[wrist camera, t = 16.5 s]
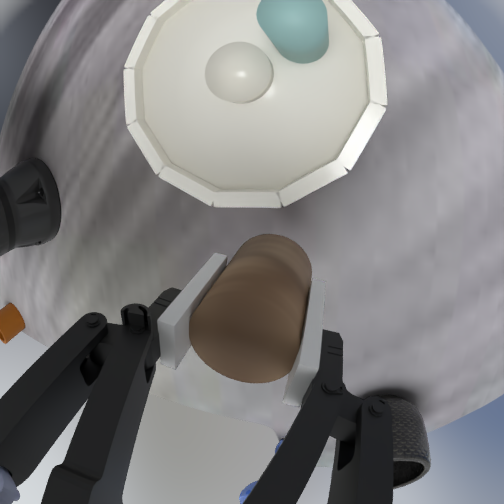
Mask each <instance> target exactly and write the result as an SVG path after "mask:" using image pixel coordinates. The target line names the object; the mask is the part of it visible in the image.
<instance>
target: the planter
mask: <svg viewBox="0 0 504 504" xmlns="http://www.w3.org/2000/svg"><path fill="white" fill-rule="evenodd" d="M377 397H380V398H382V399H384V400H385V401H387V403H388V404H389V405H390V408H391V413H392V430H393V489H396V488H399V487H403V486H406V485H408V484H411V483H413V482H415V481H417V480H418V479H420V478H422V477H423V476H424V475H425V474H426V473H427V472H428V471H429V469H430V466H431V459H430V452H429V444H428V438H427V433H426V429H425V424H424V421H423V418H422V416H421V414H420V412H419V410H418V409H417V408H416V407H415V406H414V405H413V404H412V403H410V402H409V401H406V400H404V399H402V398H400V397H397V396H394V395H382V396H377ZM332 472H333V470H332ZM331 478H332V477H331Z"/></svg>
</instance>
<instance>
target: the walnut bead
mask: <svg viewBox="0 0 504 504" xmlns="http://www.w3.org/2000/svg"><path fill="white" fill-rule="evenodd" d="M311 277H312V268H311V263H310V261H309V258H308V256H307V254H306V253H305V251H304V250H303V249H302V248H301V247H300V246H299V245H298V244H297V243H295V242H294V241H292V240H291V239H289V238H286V237H284V236H281V235H276V234H263V235H258V236H255V237H253V238H251V239H249V240H248V241H246V242H245V243H244V244H243V245H242V246H241V247H240V249H239V250H238V251H237V253H236V254H235V255H234V257H233V258H232V260H231V261H230V262H229V264H228V265H227V267H226V268H225V269H224V271H223V272H222V274H221V275H220V276H219V278H218V279H217V281H216V282H215V283H214V285H213V286H212V288H211V289H210V290H209V292H208V293H207V295H206V296H205V297H204V299H203V300H202V302H201V303H200V304H199V306H198V307H197V309H196V310H195V311H194V313H193V314H192V316H191V318H190V321H189V339H190V342H191V344H192V346H193V348H194V350H195V352H196V353H197V355H198V356H199V357H200V358H201V359H202V360H203V361H204V362H205V363H206V364H207V365H208V366H209V367H211V368H212V369H213V370H215V371H216V372H218V373H220V374H222V375H224V376H226V377H228V378H231V379H234V380H237V381H241V382H247V383H266V382H271V381H275V380H278V379H280V378H282V377H284V376H285V375H287V374H288V373H289V372H290V371H291V370H292V367H293V365H294V362H295V360H296V357H297V354H298V352H299V349H300V343H301V338H302V332H303V326H304V320H305V314H306V308H307V301H308V294H309V288H310V284H311Z"/></svg>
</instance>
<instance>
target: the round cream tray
mask: <svg viewBox="0 0 504 504" xmlns="http://www.w3.org/2000/svg"><path fill="white" fill-rule="evenodd" d="M322 1H323V2H324V4H325V6H326V9H327V17H328V32H329V46H328V49H327V52H326V53H325V54H324V55H323V56H322V57H321V58H320V59H318V60H317V61H314V62H311V63H305V64H300V63H295V62H292V61H289V60H287V59H286V58H284V57H283V56H282V55H281V54H280V53H279V51H278V50H277V49H276V47H275V46H274V44H273V43H272V42H271V40H270V39H269V38H268V36H267V35H266V34H265V32H264V31H263V30H262V28H261V27H260V25H259V24H258V21H257V16H256V12H257V8H258V5H259V3H260V2H261V0H165V1H164V2H163V3H161V4H160V5H159V6H158V7H157V8H155V9H154V10H153V11H152V12H151V15H152V16H148V17H147V19H146V21H145V23H144V25H143V27H142V29H141V31H140V33H139V35H138V37H137V39H136V41H135V43H134V45H133V48H132V50H131V52H130V54H129V57H128V59H127V61H126V64H125V66H124V67H126V68H127V69H125V70H124V98H125V115H126V125H127V124H130V125H129V126H128V127H127V128H128V130H129V131H130V133H131V135H132V136H133V138H134V140H135V141H136V143H137V145H138V146H139V148H140V150H141V151H142V153H143V154H144V156H145V158H146V159H147V161H148V163H149V164H150V166H151V167H152V169H153V171H154V172H155V174H156V175H157V174H159V178H161V179H163V180H165V181H167V182H168V183H170V184H172V185H174V186H175V187H177V188H179V189H181V190H183V191H184V192H186V193H188V194H190V195H191V196H193V197H195V198H197V199H199V200H200V201H202V202H204V203H206V204H207V205H209V206H212V205H214V207H249V208H281V207H282V205H283V206H284V207H286V206H287V205H289V204H291V203H293V202H295V201H297V200H299V199H300V198H302V197H304V196H306V195H308V194H310V193H312V192H313V191H315V190H317V189H319V188H321V187H323V186H325V185H326V184H328V183H330V182H332V181H334V180H336V179H338V178H340V177H342V176H343V175H345V174H347V171H346V169H345V168H347V169H349V170H350V171H351V169H352V167H353V166H354V164H355V162H356V161H357V159H358V157H359V156H360V154H361V152H362V151H363V149H364V147H365V145H366V144H367V142H368V140H369V139H370V137H371V135H372V133H373V132H374V130H375V128H376V127H377V125H378V123H379V121H380V120H381V118H382V116H383V114H384V113H385V111H386V108H384V107H385V106H387V90H386V77H385V67H384V57H383V49H382V42H381V37H378V36H379V33H378V31H377V30H376V29H375V28H374V26H373V25H372V24H371V23H370V21H369V20H368V19H367V18H366V16H365V15H364V14H363V13H362V12H361V11H360V9H359V8H358V7H357V6H356V5H355V4H354V3H353V2H352V1H351V0H322Z"/></svg>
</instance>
